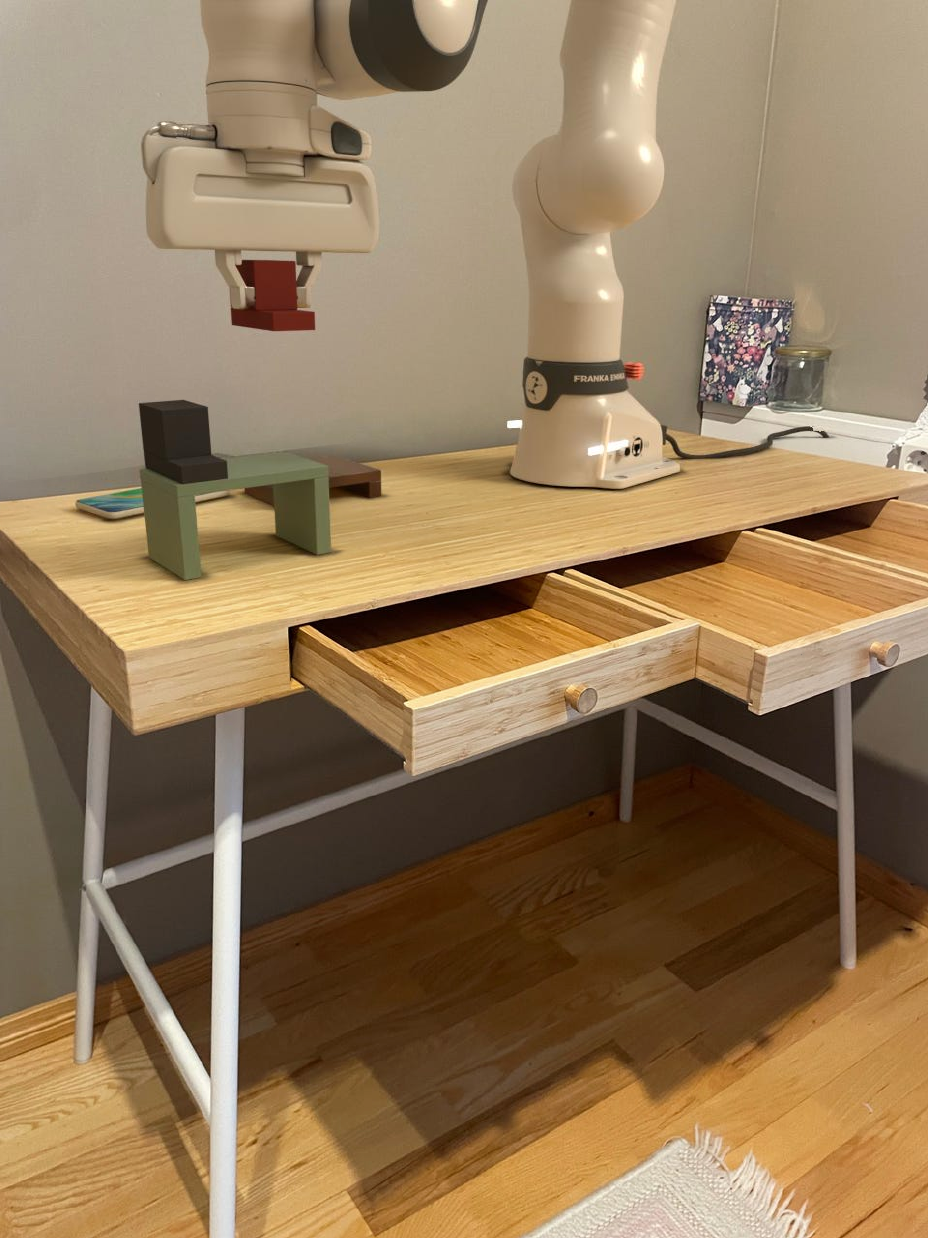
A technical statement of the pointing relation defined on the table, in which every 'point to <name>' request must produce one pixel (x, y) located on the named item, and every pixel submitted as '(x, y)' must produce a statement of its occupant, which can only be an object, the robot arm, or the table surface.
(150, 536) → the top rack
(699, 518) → the table surface
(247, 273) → the red l-shaped step block
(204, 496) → the smartphone
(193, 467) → the dark stepped block
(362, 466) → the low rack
